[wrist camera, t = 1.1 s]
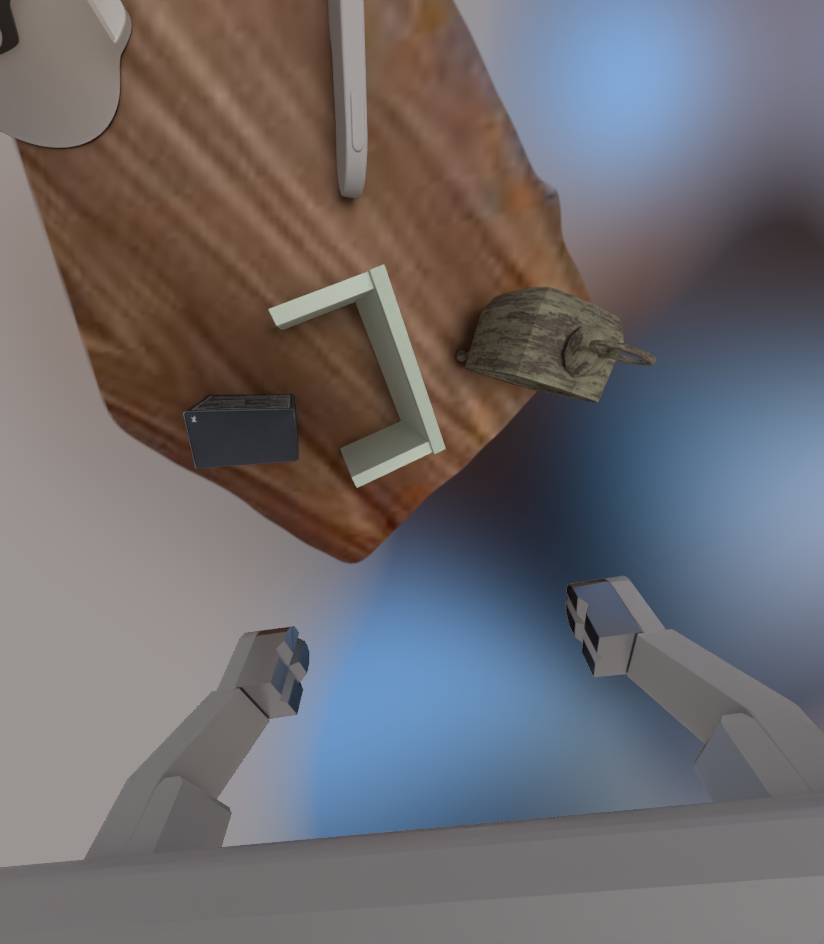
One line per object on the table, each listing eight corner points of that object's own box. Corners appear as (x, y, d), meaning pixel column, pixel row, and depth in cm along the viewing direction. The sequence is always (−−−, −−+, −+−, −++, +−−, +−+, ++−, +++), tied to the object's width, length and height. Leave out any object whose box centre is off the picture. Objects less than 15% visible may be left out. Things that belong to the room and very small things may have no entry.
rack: (275, 318, 41) (267, 308, 30) (361, 285, 43) (384, 264, 31) (344, 457, 50) (357, 490, 38) (412, 425, 51) (445, 448, 40)
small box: (214, 444, 44) (192, 472, 35) (205, 394, 42) (178, 409, 32) (299, 440, 47) (299, 464, 38) (294, 393, 45) (294, 406, 35)
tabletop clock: (444, 364, 50) (563, 380, 27) (462, 299, 47) (609, 259, 25) (521, 388, 55) (673, 418, 33) (541, 331, 53) (719, 321, 30)
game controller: (358, 209, 40) (371, 179, 33) (338, 207, 39) (348, 176, 32) (348, -28, 33) (363, -135, 26) (325, -36, 32) (333, -148, 25)
